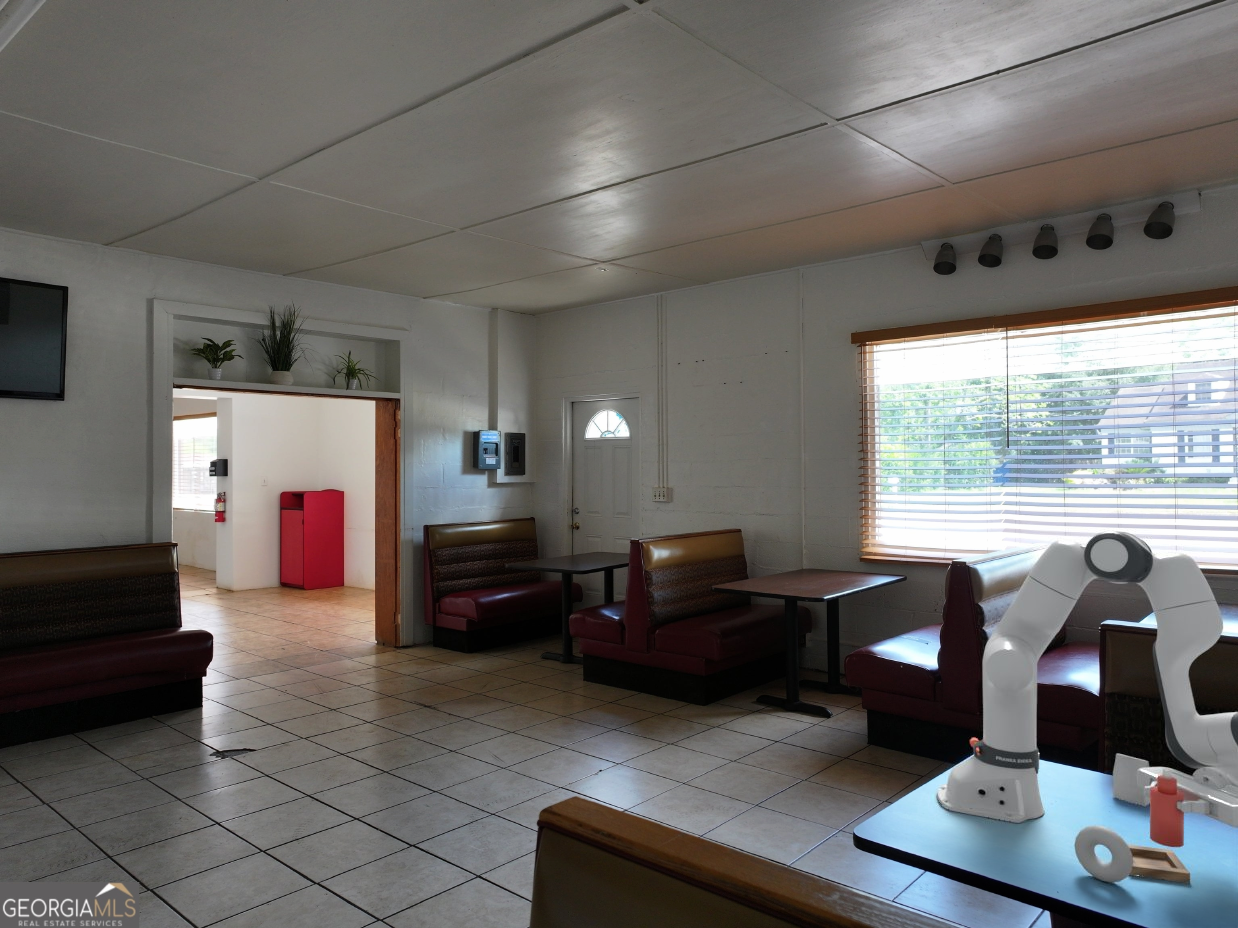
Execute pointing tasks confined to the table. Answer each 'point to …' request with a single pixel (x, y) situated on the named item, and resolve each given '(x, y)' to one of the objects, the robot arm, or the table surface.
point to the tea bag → (1128, 779)
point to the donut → (1115, 844)
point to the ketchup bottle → (1166, 812)
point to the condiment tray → (1158, 864)
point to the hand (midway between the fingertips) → (1163, 799)
